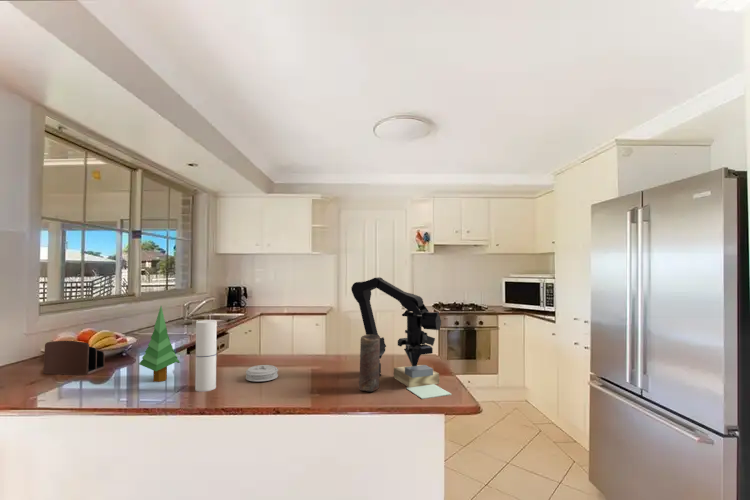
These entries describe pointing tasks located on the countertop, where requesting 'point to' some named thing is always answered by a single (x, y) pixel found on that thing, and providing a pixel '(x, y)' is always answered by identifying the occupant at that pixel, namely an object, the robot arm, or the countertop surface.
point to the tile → (418, 371)
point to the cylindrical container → (205, 355)
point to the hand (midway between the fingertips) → (414, 367)
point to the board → (417, 381)
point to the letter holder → (72, 358)
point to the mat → (428, 391)
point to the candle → (369, 362)
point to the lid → (261, 373)
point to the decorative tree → (159, 351)
